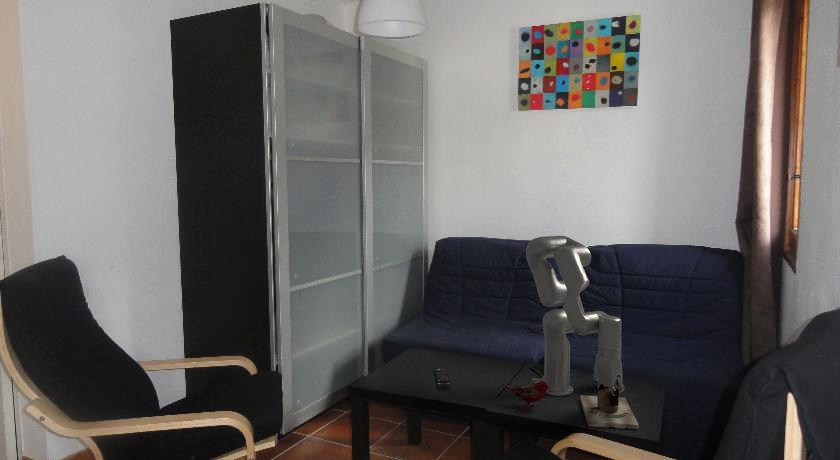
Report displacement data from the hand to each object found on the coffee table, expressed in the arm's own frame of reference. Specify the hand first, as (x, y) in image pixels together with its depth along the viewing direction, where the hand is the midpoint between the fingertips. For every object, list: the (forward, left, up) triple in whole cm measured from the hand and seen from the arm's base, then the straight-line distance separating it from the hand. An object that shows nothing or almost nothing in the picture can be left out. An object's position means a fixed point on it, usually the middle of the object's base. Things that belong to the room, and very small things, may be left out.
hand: (607, 402), depth 207 cm
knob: (-2, -1, -2) cm, 3 cm away
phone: (-19, +40, -5) cm, 44 cm away
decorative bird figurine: (-28, +3, -4) cm, 29 cm away
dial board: (0, 0, -4) cm, 4 cm away
